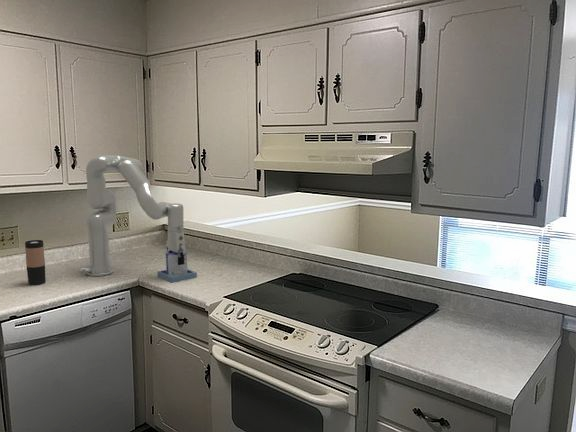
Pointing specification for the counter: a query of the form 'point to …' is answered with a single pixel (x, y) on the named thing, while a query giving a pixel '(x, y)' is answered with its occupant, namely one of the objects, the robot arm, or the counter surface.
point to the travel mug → (35, 262)
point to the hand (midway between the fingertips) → (175, 262)
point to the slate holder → (171, 279)
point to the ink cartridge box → (175, 264)
